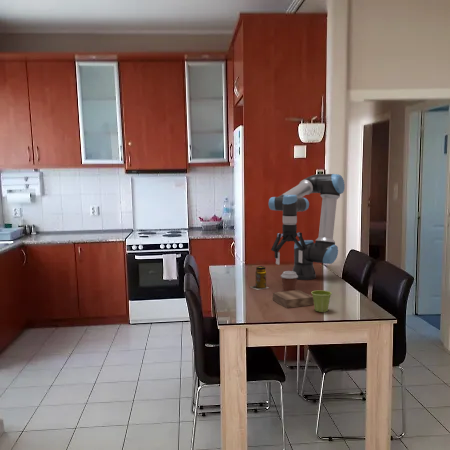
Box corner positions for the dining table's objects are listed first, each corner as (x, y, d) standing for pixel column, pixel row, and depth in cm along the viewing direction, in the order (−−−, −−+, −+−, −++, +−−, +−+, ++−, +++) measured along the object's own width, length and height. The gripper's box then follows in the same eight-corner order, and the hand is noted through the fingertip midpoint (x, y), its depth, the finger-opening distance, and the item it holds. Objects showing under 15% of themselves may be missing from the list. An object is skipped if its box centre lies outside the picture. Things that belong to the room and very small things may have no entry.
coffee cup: (284, 296, 241) (284, 274, 240) (278, 292, 250) (278, 271, 249) (300, 295, 244) (300, 273, 242) (293, 291, 252) (293, 269, 251)
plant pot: (308, 308, 221) (309, 290, 220) (327, 307, 222) (328, 289, 221) (314, 313, 212) (314, 295, 211) (334, 313, 213) (334, 294, 212)
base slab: (298, 297, 240) (298, 289, 240) (313, 304, 226) (313, 296, 226) (272, 300, 235) (272, 292, 235) (286, 308, 221) (286, 300, 221)
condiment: (269, 287, 261) (269, 267, 259) (257, 290, 256) (257, 269, 255) (261, 285, 267) (261, 265, 265) (249, 287, 262) (249, 266, 261)
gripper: (306, 222, 250) (306, 260, 252) (265, 224, 242) (264, 263, 244) (313, 223, 243) (313, 263, 245) (271, 225, 235) (271, 266, 237)
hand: (289, 263), depth 245 cm, fingers open, 13 cm apart
